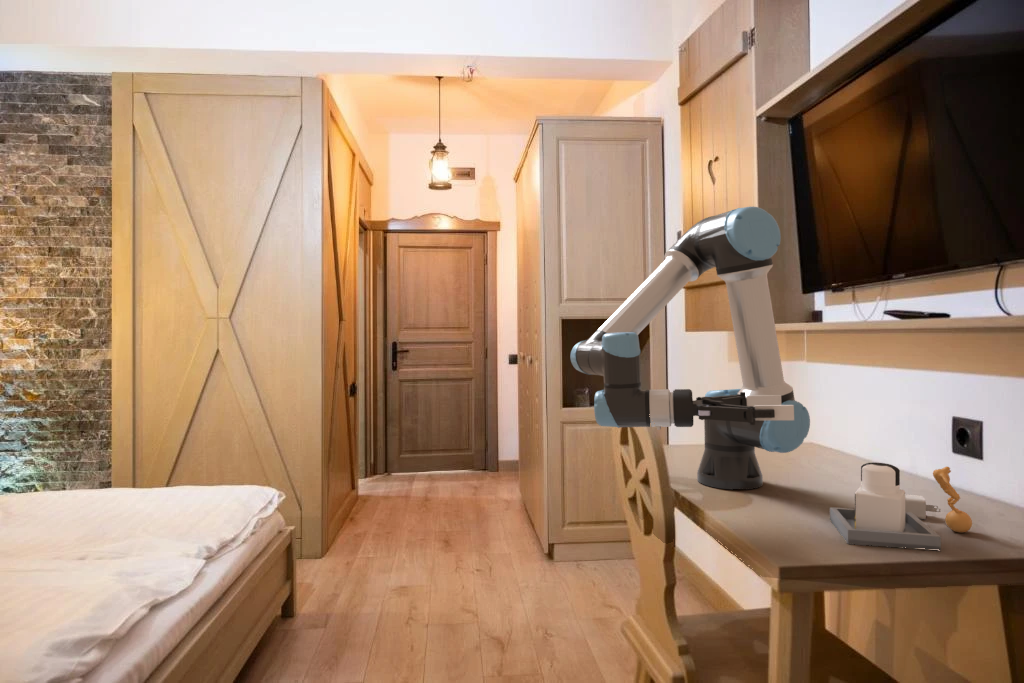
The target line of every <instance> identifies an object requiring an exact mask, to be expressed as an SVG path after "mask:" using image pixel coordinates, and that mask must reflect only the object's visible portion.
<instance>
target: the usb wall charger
mask: <svg viewBox="0 0 1024 683" xmlns="http://www.w3.org/2000/svg"><path fill="white" fill-rule="evenodd" d="M926 501H927V500H926V498H925V497H924V496H923V495H917V494H906V493H905V512H911V513H912V514H914V515H915V516H916V517H917V518H919V519H920V520H926V519H927V518H926V517H927V516H926V514H927V512H932V513H941V508H939V506H938V505H934V504H927V502H926Z"/></svg>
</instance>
